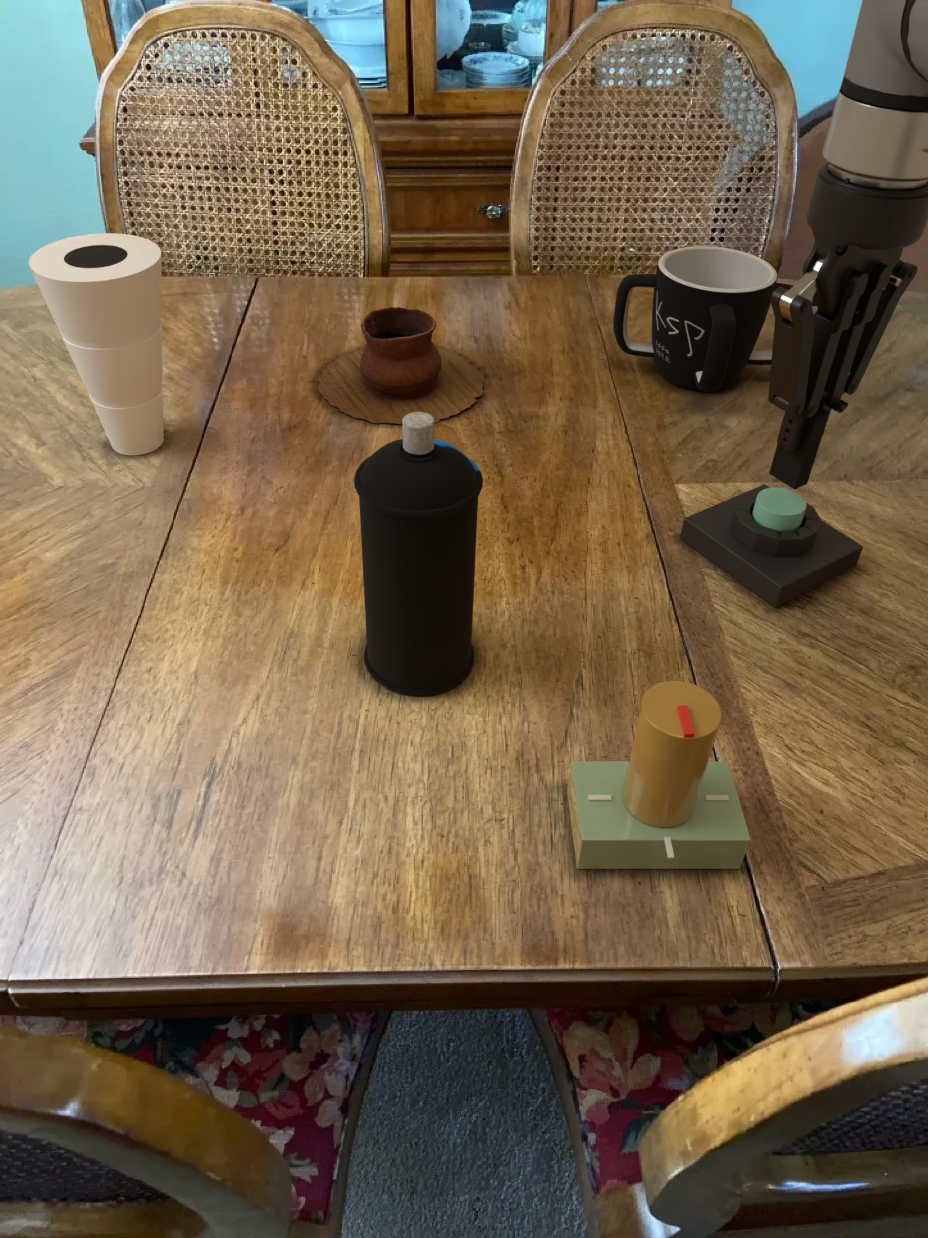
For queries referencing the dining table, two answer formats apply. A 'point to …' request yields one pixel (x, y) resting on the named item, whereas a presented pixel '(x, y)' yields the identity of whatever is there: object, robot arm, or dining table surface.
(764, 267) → the mug
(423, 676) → the aerosol can
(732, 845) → the dial panel
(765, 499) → the round green button
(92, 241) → the cream tapered cylinder
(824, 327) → the robot arm
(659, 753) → the dial
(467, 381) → the ceramic pot
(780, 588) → the button base
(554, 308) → the dining table surface
